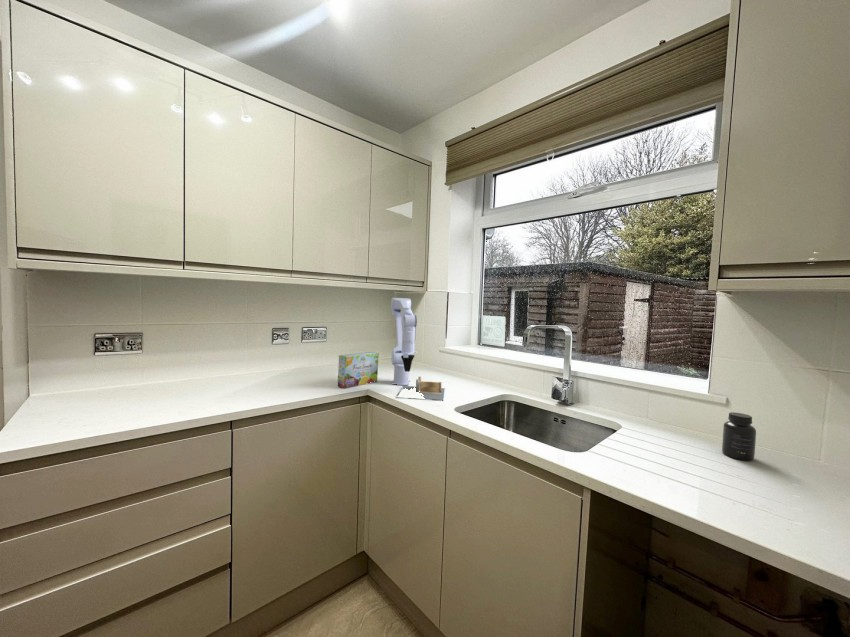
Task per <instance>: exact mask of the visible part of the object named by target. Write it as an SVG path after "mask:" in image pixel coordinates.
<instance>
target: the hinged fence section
mask: <svg viewBox="0 0 850 637" xmlns="http://www.w3.org/2000/svg"><path fill="white" fill-rule="evenodd" d="M441 388H442V382H441V381H424V380H423V381H422V380H421V381H420V392H436V393H441Z"/></svg>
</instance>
